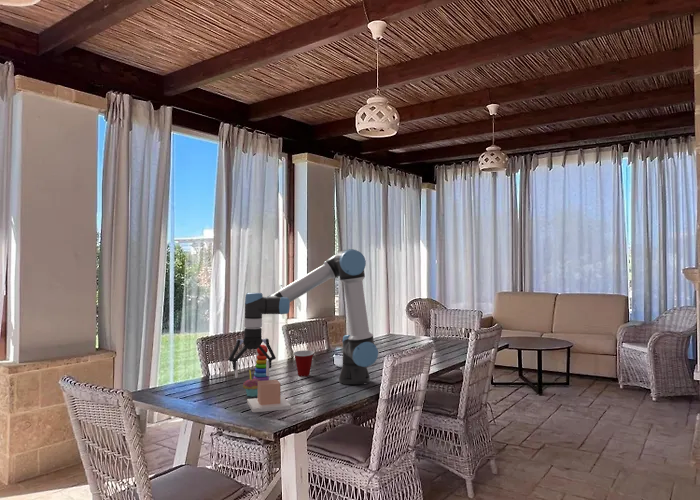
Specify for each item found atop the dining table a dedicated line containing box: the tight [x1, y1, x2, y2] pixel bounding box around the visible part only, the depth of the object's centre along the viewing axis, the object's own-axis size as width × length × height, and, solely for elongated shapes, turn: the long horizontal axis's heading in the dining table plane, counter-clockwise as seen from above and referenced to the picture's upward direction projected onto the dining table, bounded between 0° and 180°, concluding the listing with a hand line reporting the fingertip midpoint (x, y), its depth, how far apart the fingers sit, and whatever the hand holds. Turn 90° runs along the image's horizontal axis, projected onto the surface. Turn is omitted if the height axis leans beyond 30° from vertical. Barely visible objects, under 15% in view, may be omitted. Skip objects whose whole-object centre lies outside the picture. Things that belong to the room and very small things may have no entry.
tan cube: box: [257, 379, 281, 405], centre depth 212 cm, size 8×7×8 cm
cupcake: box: [242, 368, 260, 398], centre depth 229 cm, size 9×8×12 cm
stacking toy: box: [252, 344, 270, 381], centre depth 249 cm, size 8×8×19 cm
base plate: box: [246, 395, 292, 413], centre depth 212 cm, size 15×15×2 cm
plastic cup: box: [292, 349, 315, 377], centre depth 269 cm, size 11×11×12 cm
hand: (251, 376), depth 229 cm, fingers open, 13 cm apart
